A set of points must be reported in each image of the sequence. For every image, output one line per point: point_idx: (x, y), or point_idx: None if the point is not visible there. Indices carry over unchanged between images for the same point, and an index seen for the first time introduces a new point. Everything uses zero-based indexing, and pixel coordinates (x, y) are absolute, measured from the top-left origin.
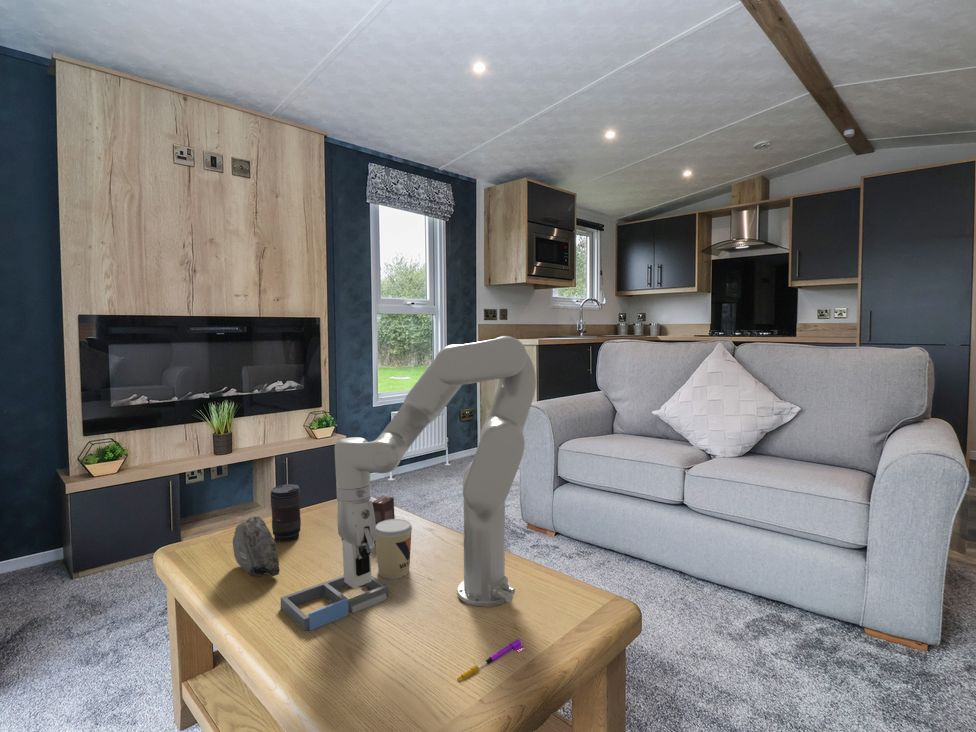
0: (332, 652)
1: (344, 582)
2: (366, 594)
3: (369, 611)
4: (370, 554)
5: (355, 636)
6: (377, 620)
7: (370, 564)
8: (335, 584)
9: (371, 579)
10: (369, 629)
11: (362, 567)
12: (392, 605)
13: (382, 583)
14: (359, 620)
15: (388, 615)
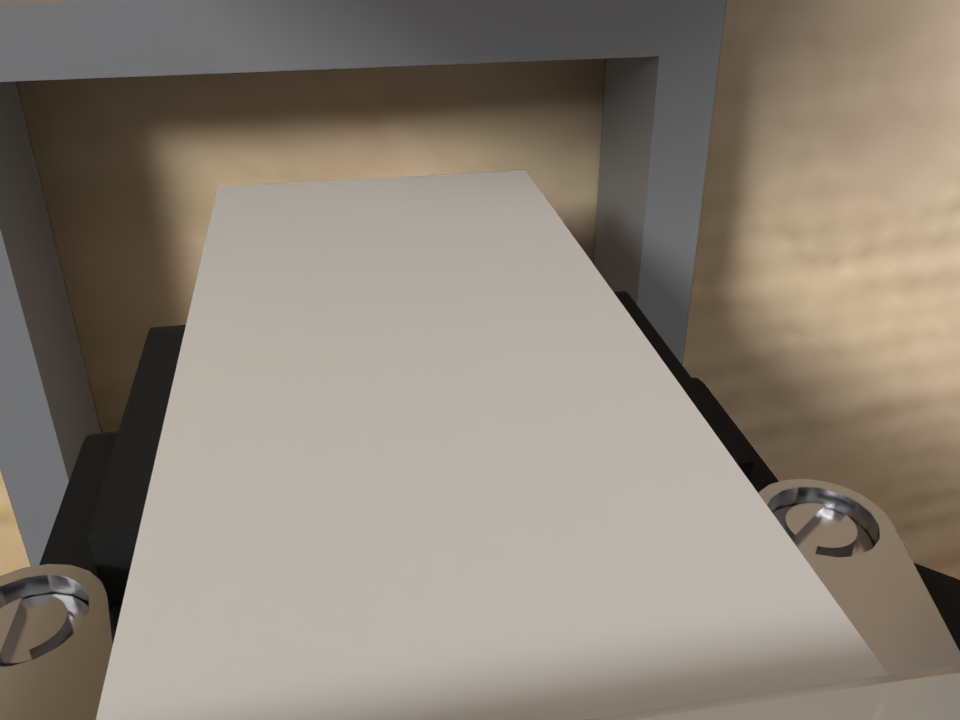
0: None
1: (53, 319)
2: (678, 318)
3: (744, 293)
4: (871, 501)
5: (930, 513)
6: (917, 303)
7: (606, 289)
8: (78, 442)
9: (349, 66)
10: (954, 406)
11: None
12: (846, 46)
13: (595, 9)
14: (790, 418)
15: (944, 184)
